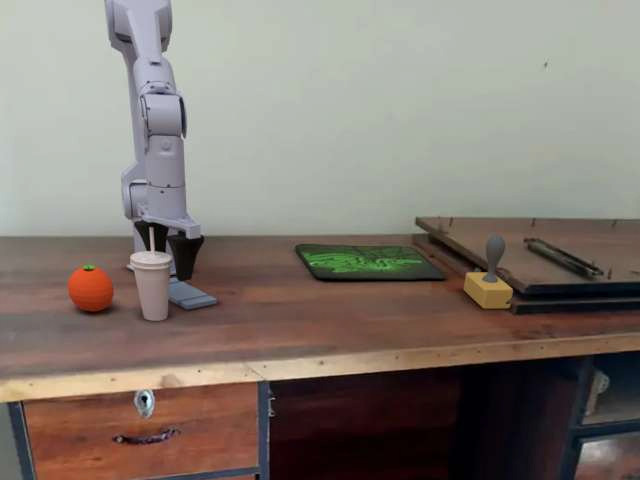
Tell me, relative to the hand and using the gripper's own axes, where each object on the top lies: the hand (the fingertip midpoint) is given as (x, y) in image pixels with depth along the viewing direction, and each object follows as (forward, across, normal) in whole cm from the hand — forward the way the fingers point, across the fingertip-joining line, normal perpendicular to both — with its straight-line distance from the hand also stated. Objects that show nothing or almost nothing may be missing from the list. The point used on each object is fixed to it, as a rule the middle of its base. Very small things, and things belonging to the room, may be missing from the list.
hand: (171, 273), depth 124 cm
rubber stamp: (+7, +24, +53) cm, 59 cm away
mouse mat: (+7, -3, +48) cm, 49 cm away
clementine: (+7, -8, -10) cm, 14 cm away
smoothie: (+7, 0, -3) cm, 8 cm away
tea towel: (+7, -6, +6) cm, 11 cm away
